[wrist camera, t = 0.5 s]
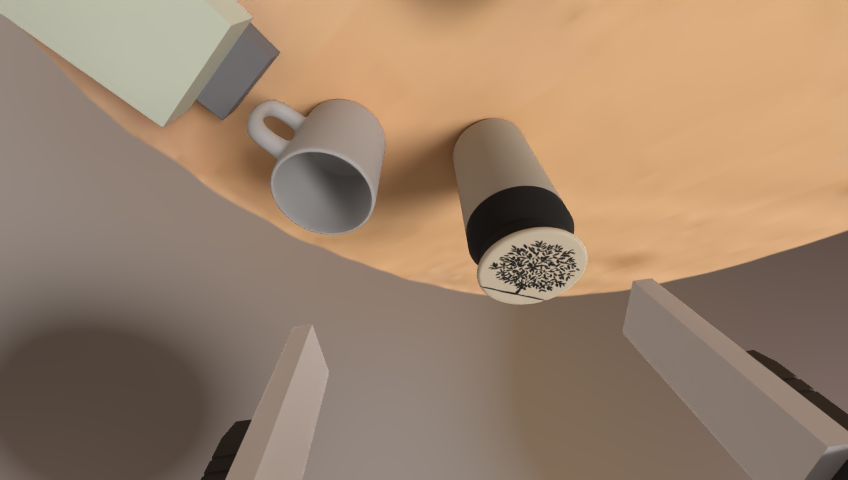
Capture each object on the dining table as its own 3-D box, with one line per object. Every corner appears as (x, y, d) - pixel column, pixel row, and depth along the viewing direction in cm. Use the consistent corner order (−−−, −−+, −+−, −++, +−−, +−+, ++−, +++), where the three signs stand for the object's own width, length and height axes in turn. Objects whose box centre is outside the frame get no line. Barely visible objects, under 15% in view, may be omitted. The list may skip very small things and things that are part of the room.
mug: (402, 136, 34) (397, 193, 26) (355, 187, 38) (339, 250, 30) (299, 50, 29) (252, 87, 21) (258, 120, 33) (205, 174, 25)
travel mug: (477, 103, 32) (521, 209, 19) (539, 137, 35) (619, 252, 21) (439, 168, 37) (453, 290, 23) (496, 193, 39) (539, 317, 26)
